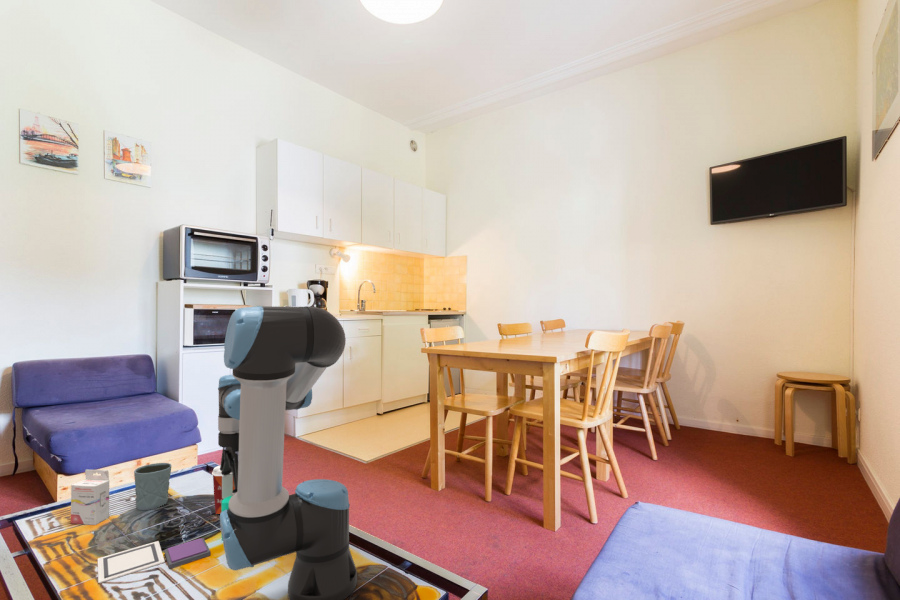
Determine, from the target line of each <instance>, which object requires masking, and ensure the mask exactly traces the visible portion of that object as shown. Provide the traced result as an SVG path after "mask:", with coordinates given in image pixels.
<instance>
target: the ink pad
mask: <svg viewBox="0 0 900 600" xmlns="http://www.w3.org/2000/svg"><path fill="white" fill-rule="evenodd" d="M164 553H165V554H164V558H165V559H166V562H167V563H166V564H167V566H168V569H170V570H171V569H174V568H176V567H180V566H182V565H186V564H189V563H192V562H194V561H198V560H200V559H204V558H206V557H210V556H211V550H210V547H209V546H208V544H207V542H206V540H205V538H204V537H201V538H197V539H193V540H190V541H186V542H184V543H180V544H178V545H177V544H176V545H174V546H171V547H167V548H166V549H164Z"/></svg>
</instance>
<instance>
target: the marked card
mask: <svg viewBox="0 0 900 600" xmlns="http://www.w3.org/2000/svg"><path fill="white" fill-rule="evenodd" d="M165 563H166V562H165V556H164V555H163V551H162V547H161V545H160V541H159V540H156V541H154V542H150V543H147V544H143V545H139V546H135V547H132V548H129V549H125V550H122V551H119V552H116V553H112V554H109V555H106V556H101V557H98V558H97V583H100V584H103V583H106V582H109V581H112V580H115V579H118V578H121V577H124V576H128V575H131V574H134V573H137V572H140V571H143V570H147V569H149V568H153V567H156V566H159V565H161V564H165Z"/></svg>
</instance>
